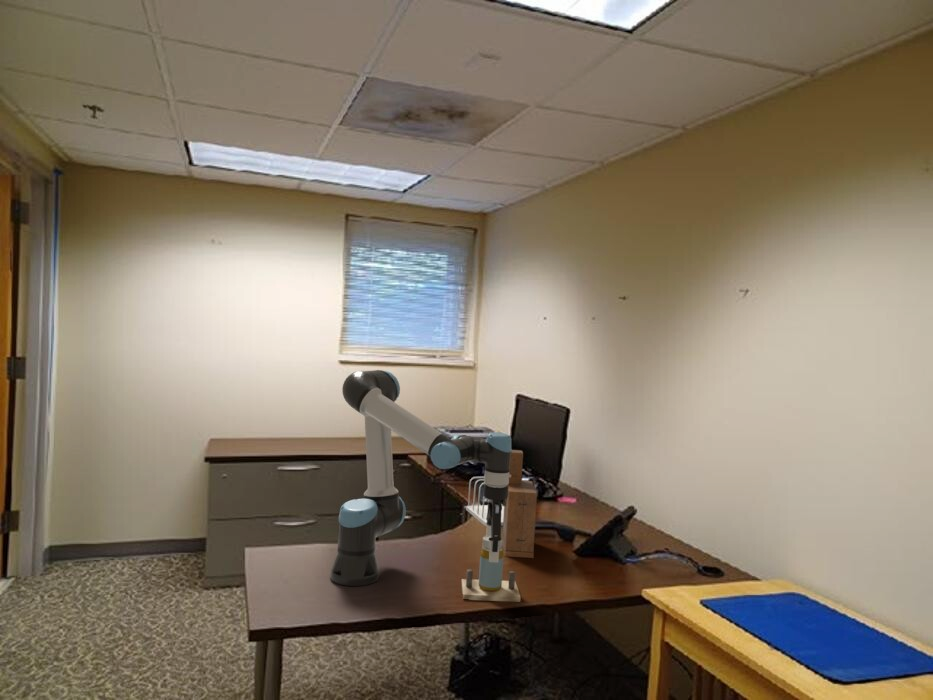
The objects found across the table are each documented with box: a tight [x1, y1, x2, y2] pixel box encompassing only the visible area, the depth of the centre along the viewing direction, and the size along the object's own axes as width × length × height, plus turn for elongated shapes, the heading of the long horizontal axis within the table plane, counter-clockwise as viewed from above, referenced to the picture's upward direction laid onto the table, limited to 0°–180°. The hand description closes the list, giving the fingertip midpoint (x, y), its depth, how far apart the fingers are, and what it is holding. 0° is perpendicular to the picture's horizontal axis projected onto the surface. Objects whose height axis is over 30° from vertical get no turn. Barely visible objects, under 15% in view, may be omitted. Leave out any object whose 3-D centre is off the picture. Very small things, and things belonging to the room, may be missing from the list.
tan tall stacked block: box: [500, 449, 538, 559], centre depth 236 cm, size 19×14×35 cm
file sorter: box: [465, 476, 504, 528], centre depth 275 cm, size 25×17×16 cm
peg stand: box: [460, 568, 522, 603], centre depth 193 cm, size 17×12×6 cm
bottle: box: [478, 535, 504, 591], centre depth 193 cm, size 7×7×15 cm
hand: (491, 553), depth 193 cm, fingers open, 13 cm apart
